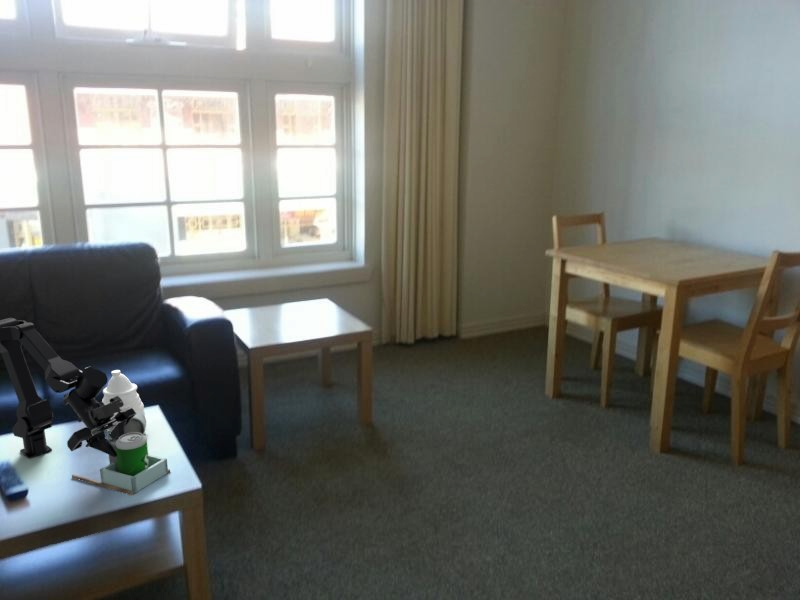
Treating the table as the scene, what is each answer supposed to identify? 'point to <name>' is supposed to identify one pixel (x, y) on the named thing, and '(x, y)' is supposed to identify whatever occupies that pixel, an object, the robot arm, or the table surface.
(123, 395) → the honey pot
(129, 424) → the ceramic mug
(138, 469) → the soda can
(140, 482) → the pale green open tray
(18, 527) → the table surface
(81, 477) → the track
